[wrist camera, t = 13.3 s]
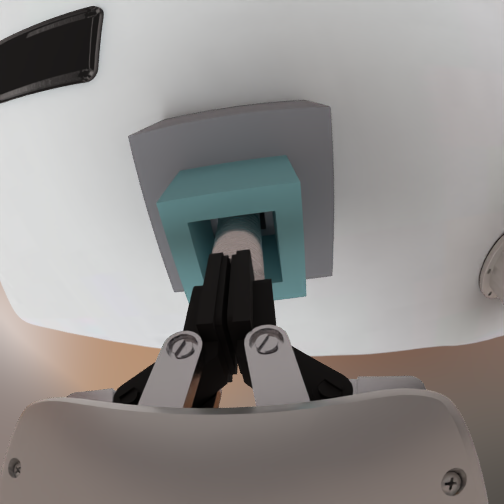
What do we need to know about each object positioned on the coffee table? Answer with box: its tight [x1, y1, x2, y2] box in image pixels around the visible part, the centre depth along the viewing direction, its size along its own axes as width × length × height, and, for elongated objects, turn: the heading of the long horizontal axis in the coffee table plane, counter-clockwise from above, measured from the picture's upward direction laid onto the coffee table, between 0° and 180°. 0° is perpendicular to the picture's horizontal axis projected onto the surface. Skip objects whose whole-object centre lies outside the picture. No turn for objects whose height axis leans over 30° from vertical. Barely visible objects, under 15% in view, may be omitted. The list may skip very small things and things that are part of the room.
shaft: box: [212, 213, 265, 280], centre depth 18 cm, size 2×2×14 cm
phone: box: [0, 6, 104, 103], centre depth 17 cm, size 8×1×15 cm
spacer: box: [156, 155, 306, 303], centre depth 16 cm, size 6×6×5 cm
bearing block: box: [128, 100, 334, 292], centre depth 21 cm, size 12×12×8 cm
